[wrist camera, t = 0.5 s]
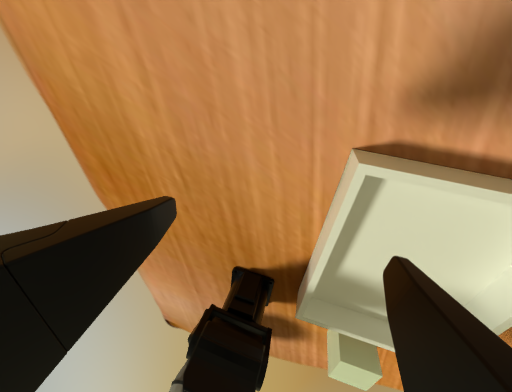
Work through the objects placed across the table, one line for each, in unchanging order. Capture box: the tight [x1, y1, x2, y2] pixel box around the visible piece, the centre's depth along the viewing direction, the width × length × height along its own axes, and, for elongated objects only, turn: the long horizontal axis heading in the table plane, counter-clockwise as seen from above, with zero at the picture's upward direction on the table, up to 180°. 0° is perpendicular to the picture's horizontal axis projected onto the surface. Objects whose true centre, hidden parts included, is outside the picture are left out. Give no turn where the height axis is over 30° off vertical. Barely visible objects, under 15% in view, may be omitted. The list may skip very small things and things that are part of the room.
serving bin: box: [295, 149, 512, 352], centre depth 21 cm, size 22×18×4 cm
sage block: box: [327, 330, 383, 391], centre depth 29 cm, size 5×5×6 cm
